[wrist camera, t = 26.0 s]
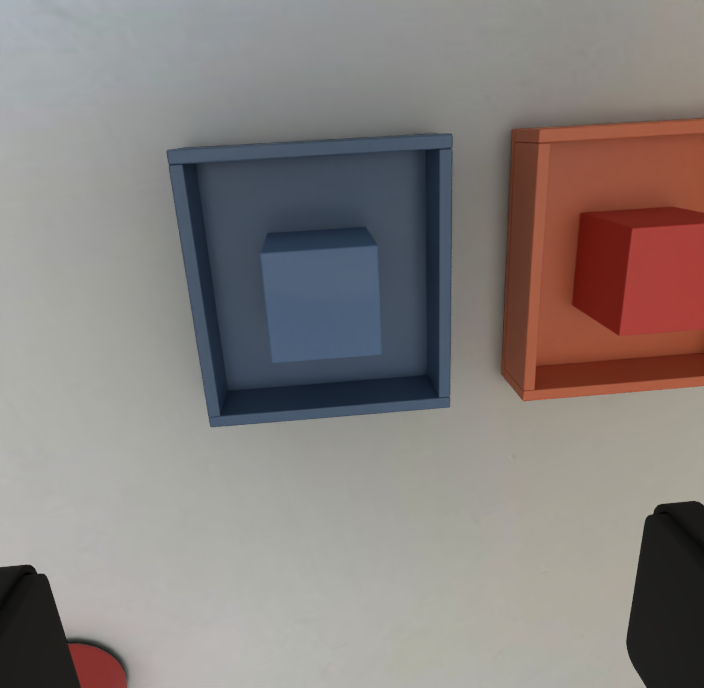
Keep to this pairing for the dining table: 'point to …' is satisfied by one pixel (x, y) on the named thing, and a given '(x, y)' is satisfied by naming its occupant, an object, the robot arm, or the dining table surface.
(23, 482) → the dining table surface
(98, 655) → the beer can
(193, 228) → the blue bin
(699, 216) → the red block
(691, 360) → the orange open box
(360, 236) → the blue block
